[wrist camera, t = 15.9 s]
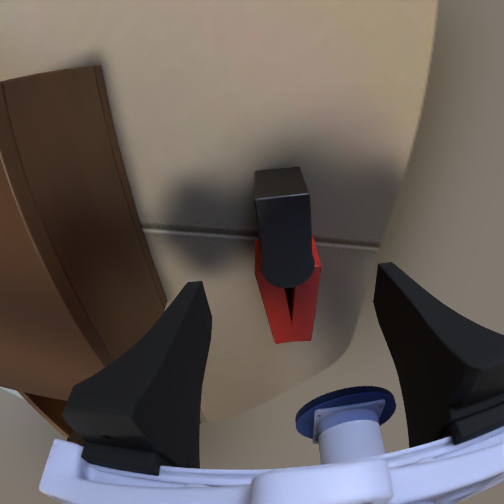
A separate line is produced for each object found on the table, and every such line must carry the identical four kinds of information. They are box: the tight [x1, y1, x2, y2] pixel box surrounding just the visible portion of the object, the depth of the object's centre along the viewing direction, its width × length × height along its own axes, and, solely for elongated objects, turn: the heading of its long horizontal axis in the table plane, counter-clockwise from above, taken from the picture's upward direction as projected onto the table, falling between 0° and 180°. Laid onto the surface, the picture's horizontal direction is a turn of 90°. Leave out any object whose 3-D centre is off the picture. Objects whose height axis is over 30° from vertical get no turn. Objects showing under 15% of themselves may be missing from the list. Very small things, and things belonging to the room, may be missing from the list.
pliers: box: [254, 167, 321, 344], centre depth 16 cm, size 3×9×4 cm, turn 7°
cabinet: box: [0, 65, 167, 401], centre depth 13 cm, size 15×13×8 cm
